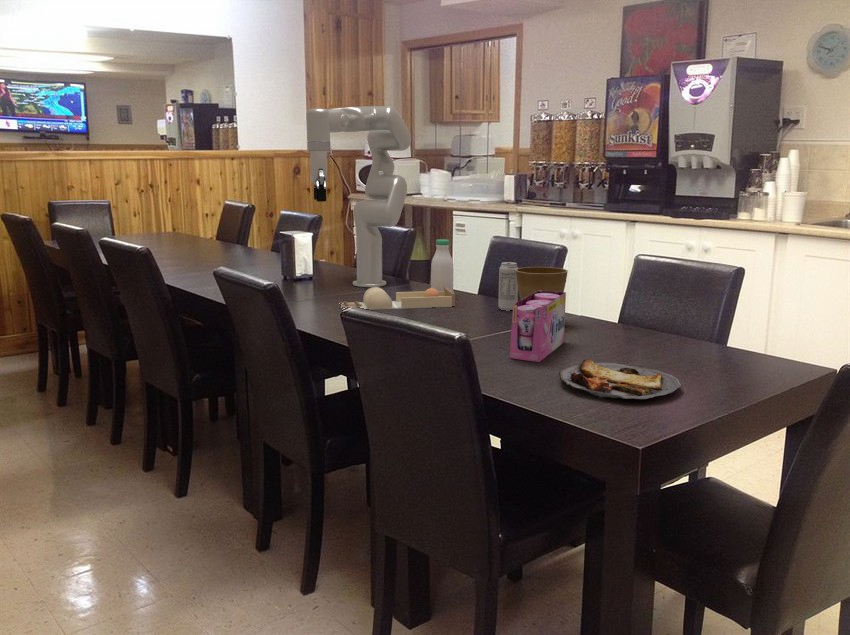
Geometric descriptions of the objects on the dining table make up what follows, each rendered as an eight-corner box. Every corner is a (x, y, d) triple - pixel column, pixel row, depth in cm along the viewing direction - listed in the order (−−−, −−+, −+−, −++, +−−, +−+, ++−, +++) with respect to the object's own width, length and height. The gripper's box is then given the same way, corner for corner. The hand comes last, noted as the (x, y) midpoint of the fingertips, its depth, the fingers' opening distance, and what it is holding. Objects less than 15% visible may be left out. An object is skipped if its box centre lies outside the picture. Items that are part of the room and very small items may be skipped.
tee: (339, 304, 250) (339, 300, 250) (360, 303, 252) (360, 300, 252) (341, 308, 244) (341, 304, 244) (363, 307, 245) (363, 304, 245)
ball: (419, 292, 254) (432, 283, 254) (427, 304, 256) (440, 296, 256) (422, 294, 249) (435, 286, 250) (430, 307, 251) (443, 299, 251)
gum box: (538, 364, 183) (541, 308, 180) (507, 360, 186) (508, 305, 183) (564, 342, 204) (566, 291, 201) (535, 339, 207) (537, 289, 204)
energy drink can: (519, 308, 247) (521, 262, 244) (513, 312, 241) (515, 264, 238) (501, 307, 249) (503, 261, 246) (495, 310, 244) (496, 263, 241)
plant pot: (573, 322, 228) (576, 268, 224) (551, 331, 216) (554, 275, 212) (528, 316, 236) (530, 264, 233) (505, 324, 224) (506, 270, 221)
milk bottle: (456, 298, 263) (457, 240, 259) (435, 300, 260) (436, 241, 256) (447, 295, 270) (448, 238, 266) (427, 296, 267) (427, 238, 263)
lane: (339, 311, 253) (338, 287, 251) (446, 308, 260) (447, 284, 259) (342, 318, 242) (342, 293, 241) (454, 314, 250) (455, 290, 248)
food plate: (541, 389, 163) (542, 373, 162) (583, 365, 182) (584, 351, 181) (659, 414, 149) (660, 397, 149) (690, 386, 169) (692, 371, 168)
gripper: (305, 147, 259) (306, 199, 263) (309, 147, 243) (310, 202, 246) (327, 147, 261) (328, 198, 264) (333, 147, 244) (334, 202, 248)
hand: (320, 200), depth 255 cm, fingers open, 9 cm apart
